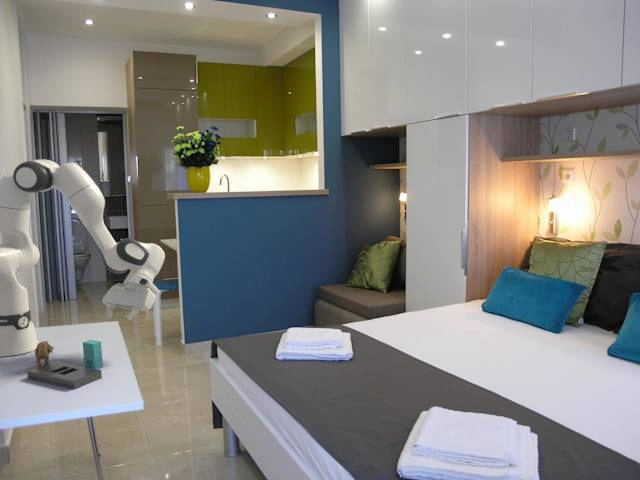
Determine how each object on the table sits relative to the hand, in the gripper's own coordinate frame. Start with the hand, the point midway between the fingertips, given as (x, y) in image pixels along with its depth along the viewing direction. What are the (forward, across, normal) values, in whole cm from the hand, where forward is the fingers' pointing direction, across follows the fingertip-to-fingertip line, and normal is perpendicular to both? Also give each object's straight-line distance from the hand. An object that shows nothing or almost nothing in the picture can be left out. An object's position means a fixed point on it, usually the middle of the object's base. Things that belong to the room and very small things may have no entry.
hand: (117, 318), depth 192 cm
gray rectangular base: (+25, 0, -6) cm, 26 cm away
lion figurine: (+21, -18, -1) cm, 28 cm away
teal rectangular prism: (+18, 0, +2) cm, 18 cm away
